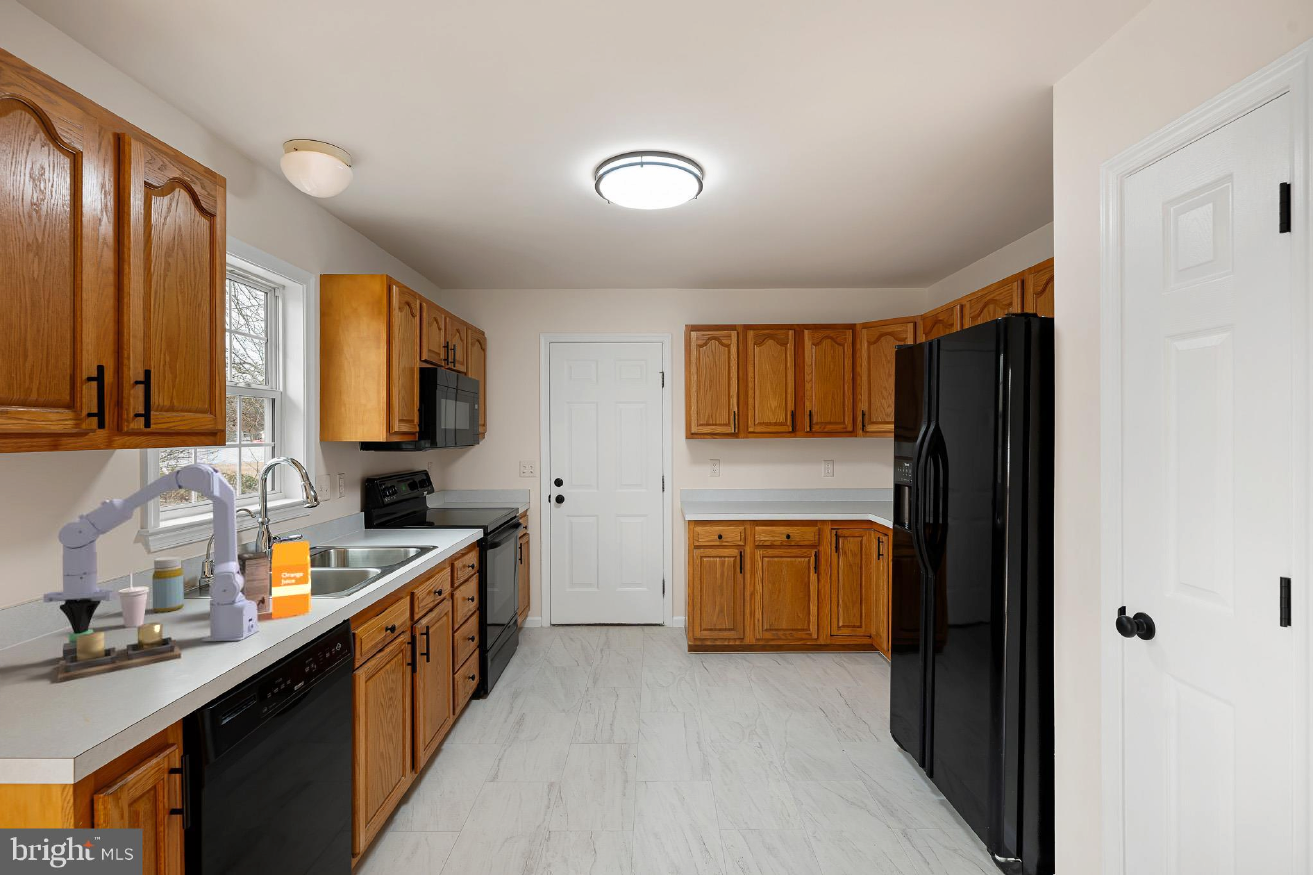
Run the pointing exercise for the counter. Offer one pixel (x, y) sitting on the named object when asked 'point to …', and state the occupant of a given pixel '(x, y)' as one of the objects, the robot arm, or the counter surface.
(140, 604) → the smoothie
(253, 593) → the coffee box
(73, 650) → the button box
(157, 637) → the cylinder
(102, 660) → the wooden fixture board
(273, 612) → the orange juice
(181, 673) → the counter surface
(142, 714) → the counter surface
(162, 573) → the bottle
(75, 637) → the button
